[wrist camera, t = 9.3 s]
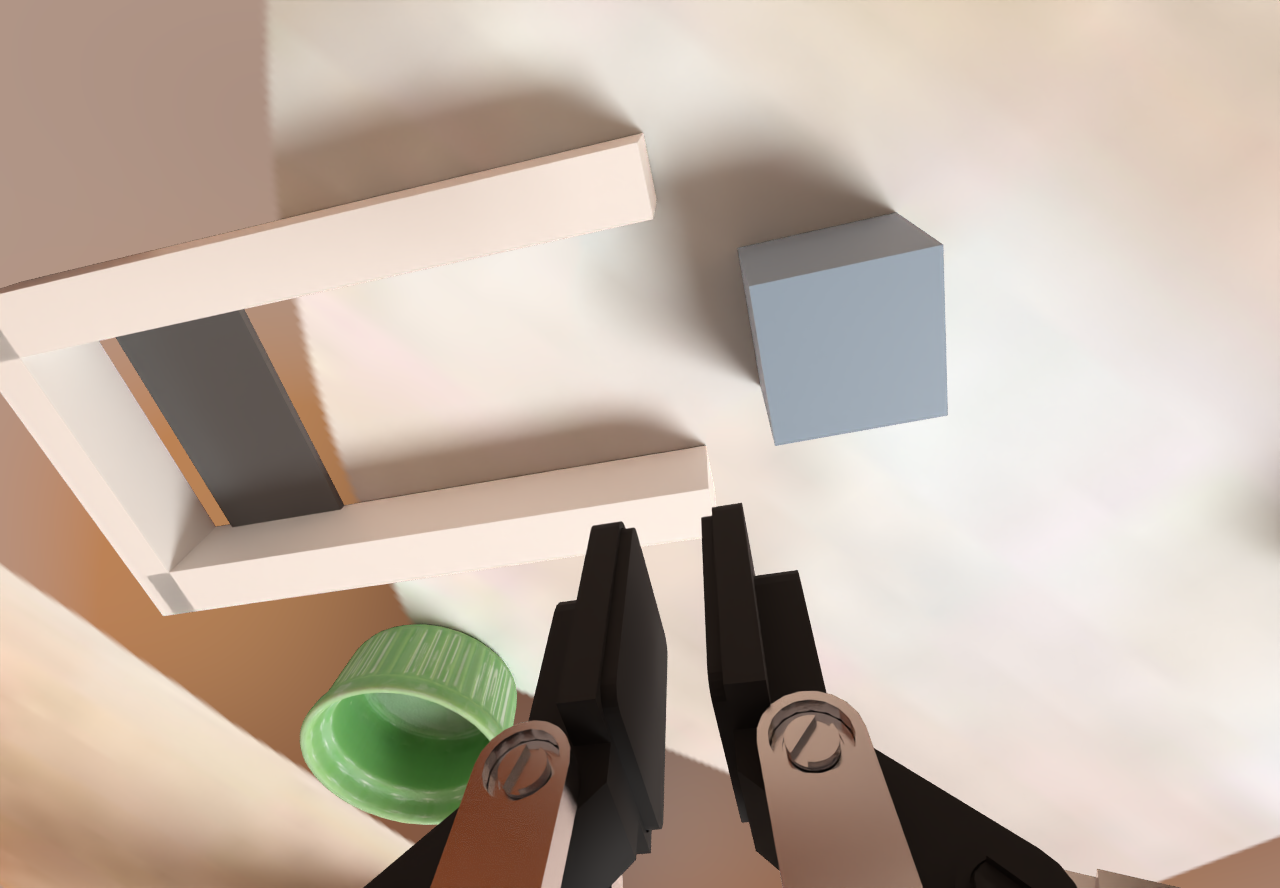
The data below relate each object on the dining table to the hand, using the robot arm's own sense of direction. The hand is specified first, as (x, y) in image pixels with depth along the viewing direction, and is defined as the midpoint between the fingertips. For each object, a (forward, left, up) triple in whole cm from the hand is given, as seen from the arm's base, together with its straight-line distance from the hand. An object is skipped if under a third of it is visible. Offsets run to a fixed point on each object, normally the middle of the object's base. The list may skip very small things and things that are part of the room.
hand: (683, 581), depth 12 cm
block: (0, -5, -13) cm, 14 cm away
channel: (0, +11, -13) cm, 17 cm away
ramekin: (-15, +15, -13) cm, 25 cm away
